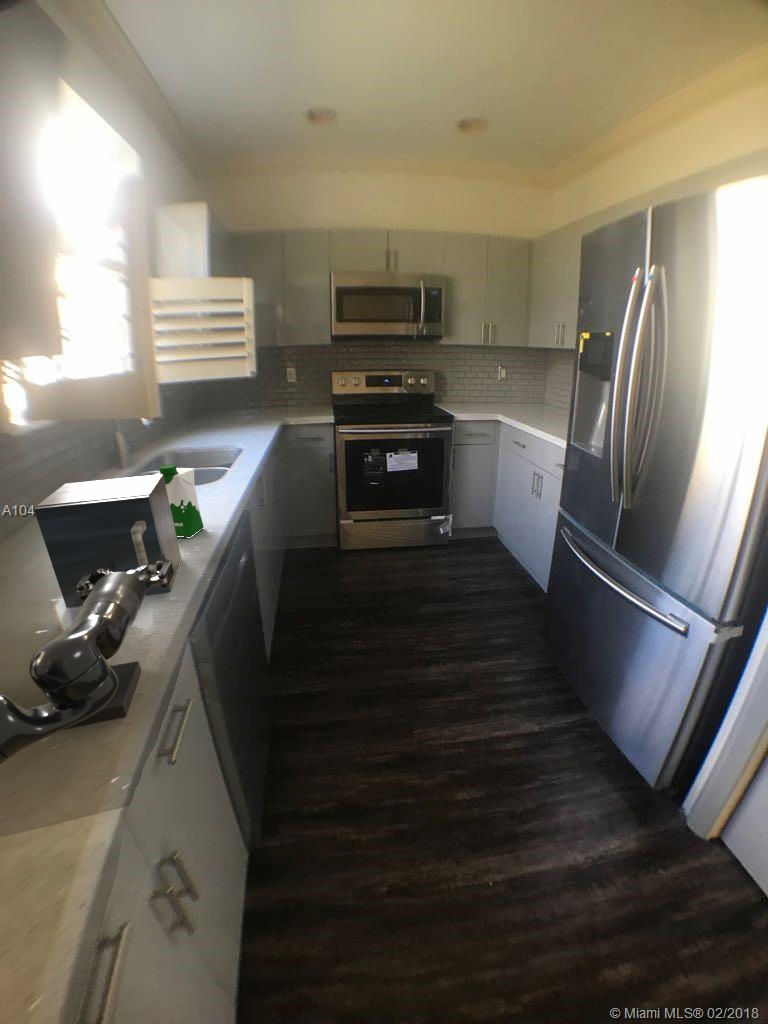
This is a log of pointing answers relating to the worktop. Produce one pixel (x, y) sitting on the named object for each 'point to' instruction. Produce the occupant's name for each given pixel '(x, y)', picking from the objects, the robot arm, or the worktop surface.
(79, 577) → the door
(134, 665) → the panel
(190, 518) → the milk carton
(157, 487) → the cupboard
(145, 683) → the worktop surface
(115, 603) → the robot arm
